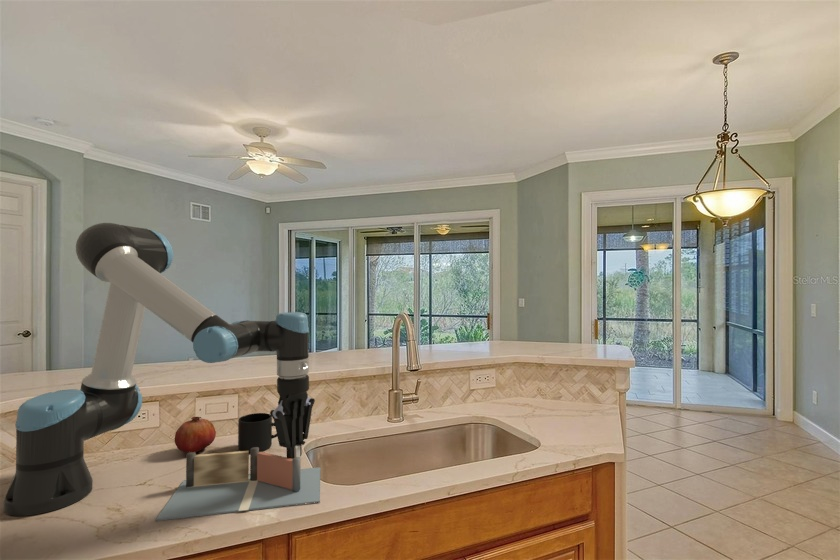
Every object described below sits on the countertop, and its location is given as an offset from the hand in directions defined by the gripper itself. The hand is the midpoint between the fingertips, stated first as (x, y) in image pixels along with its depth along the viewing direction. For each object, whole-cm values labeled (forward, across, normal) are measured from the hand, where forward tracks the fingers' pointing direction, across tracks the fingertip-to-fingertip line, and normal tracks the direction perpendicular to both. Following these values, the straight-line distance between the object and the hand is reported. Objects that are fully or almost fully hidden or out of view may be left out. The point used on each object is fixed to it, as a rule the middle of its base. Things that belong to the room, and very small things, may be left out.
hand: (294, 472), depth 103 cm
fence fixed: (+3, -8, +16) cm, 18 cm away
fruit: (+3, +2, +41) cm, 41 cm away
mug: (+3, +13, +27) cm, 30 cm away
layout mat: (+3, -8, +7) cm, 11 cm away
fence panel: (+2, -3, +2) cm, 4 cm away
